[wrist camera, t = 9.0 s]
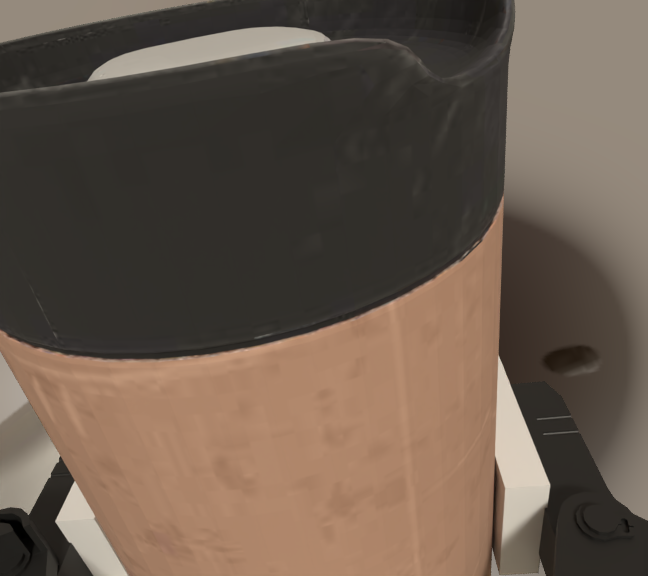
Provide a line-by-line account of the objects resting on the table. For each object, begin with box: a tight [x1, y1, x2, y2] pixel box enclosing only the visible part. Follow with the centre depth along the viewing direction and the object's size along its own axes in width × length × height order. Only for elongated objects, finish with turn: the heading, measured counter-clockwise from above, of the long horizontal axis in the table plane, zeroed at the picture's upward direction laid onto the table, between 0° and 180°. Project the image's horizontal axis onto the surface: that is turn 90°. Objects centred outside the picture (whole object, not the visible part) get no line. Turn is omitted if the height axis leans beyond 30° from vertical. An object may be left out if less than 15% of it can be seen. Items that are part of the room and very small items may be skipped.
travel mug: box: [0, 0, 515, 576], centre depth 12 cm, size 8×8×20 cm
